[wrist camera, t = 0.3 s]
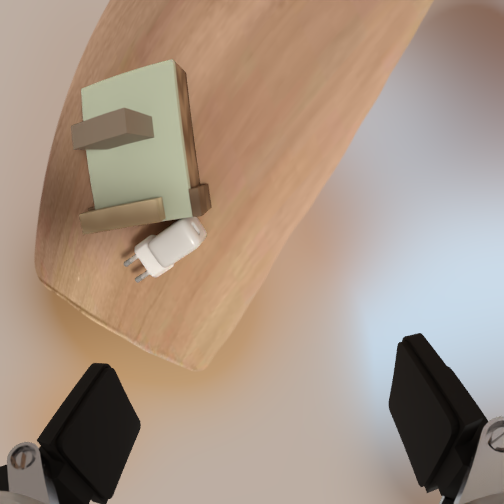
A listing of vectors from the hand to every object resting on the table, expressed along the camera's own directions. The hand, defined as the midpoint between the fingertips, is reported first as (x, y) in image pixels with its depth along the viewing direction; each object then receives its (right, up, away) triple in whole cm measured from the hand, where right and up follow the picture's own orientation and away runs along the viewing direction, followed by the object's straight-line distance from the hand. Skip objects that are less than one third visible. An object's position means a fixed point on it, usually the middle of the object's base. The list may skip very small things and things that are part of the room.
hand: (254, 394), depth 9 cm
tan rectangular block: (-15, +9, +23) cm, 29 cm away
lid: (-13, +16, +22) cm, 31 cm away
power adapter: (-11, +6, +31) cm, 33 cm away
